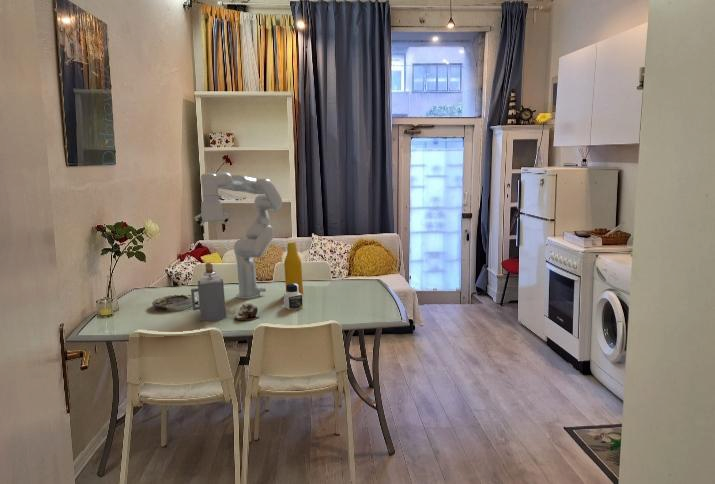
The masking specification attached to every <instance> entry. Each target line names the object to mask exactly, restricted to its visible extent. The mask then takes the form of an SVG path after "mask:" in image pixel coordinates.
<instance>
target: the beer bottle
mask: <svg viewBox="0 0 715 484" xmlns="http://www.w3.org/2000/svg"><path fill="white" fill-rule="evenodd" d="M286 247H287V248H286V249H287V250H286V251H287V252H286V256H285V259H284V262H283V263H284V265H283V266H284V277H285V278H284V279H285V287H286V286H287V285H288V284H292V283H295V284H298V285H299V293H300V294H302V295H303V294H304V287H303V285H304V284H303V267H302V260H301V257H300V255H299V253H298V249H297V242H296V241H288V242H287V246H286ZM285 293H287V290H286V289H285Z"/></svg>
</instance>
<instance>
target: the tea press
mask: <svg viewBox="0 0 715 484" xmlns="http://www.w3.org/2000/svg"><path fill="white" fill-rule="evenodd" d="M196 281H197V282H196V283H197V288H190V291H191V292H190V293H191V294H190V295H192V311H199V312H200V314H199V315H200V321H201V322H208V323H210V322H217V321H220V322H221V320H224V319H226V318H227V312H226V311H227V310H226V299H225V297H226V296H225V288H224V286H225V285H224V279H223V278H221V277H220V275H217V276H211V280H209V276H207V277H205V276H204V277H199V280H196ZM209 283H211V284H209ZM195 292H196V293H197V292H198V293H197V294H198V302H199V305H200V306H199V305H197V306H196V303H195V298H194V296H195Z"/></svg>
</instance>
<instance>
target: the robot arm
mask: <svg viewBox="0 0 715 484" xmlns="http://www.w3.org/2000/svg"><path fill="white" fill-rule="evenodd" d="M200 179H201V180H200V181H201V192H202V201H201V202H200V203H201V205H200V206H201V207H200V211H201V212H200V213H199V214H198V215H195V216H194V220H195V222H196V223H197V224H198V225H199V226H200V232H201V233H202V234H203V235H204V234H205V225H204V224H205V223H207V222H209V223H210V222H219V221H220V222H221V223H222V224H221V229H222V232H223V233H225V231H226V224H227V222H229V219H230V218H231V215H230V214H229V213H227V212H224V211H223V207H222V203H221V200H220V199H222V198H223V197H222V195H219V189H220V190H221V189H222V190H227V191H233V192H240V193H247V194H251V195H256V197H255V198H254V201H253V203H254V208H255V216H254V217H253V219H252V221H251V223H249V226H248V227H247V230H246V231H245V237H246V238H239V239H237V240H236V241H235V243H234V245H233V252H234V255H235V259H236V260H235V261H236V268H237V281H238V291H239V293H237V294H236V298H237V299H238V300H239V299H241V300H249V299H255V298H259V297H260V296H261V293H262V292H263V293H264V292H266V288H265V287H259V288H258V286H257V273H256V272H257V270H256V262H255V260H254V258H255V259H256V258H261V257H262V256H263V255H264V254H265V252H267V249H268V248H269V246H270V244H271V243H272V242H273V239H274V236H275V230H274V227H273V226H271V225H270V222H271V220H270V219H271V218H270V214H269V212H268V211H278V210H280V209H281V208H282V206H283V199H282V197H281V194H280V192H278V190H277V188H276V186H275V185H274V183H273V182H272V181H271V180H270V179H269V178H254V177H252V176H251V177H250V176H245V175H239V174H234V175H233V174H230V173H229V172H226V171H214V172H212V171H211V172H209V173H203V174H201V176H200ZM224 216H226V217H225V219H223V218H224ZM199 218H201V221H200V220H199Z"/></svg>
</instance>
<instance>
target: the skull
mask: <svg viewBox="0 0 715 484" xmlns="http://www.w3.org/2000/svg"><path fill="white" fill-rule="evenodd" d="M258 309H259V308H258V306H257V304H255V303H254V302H252V301H245V302H244V303H242V304H241V306H240V307H239V310H238V311H237V312H236V315H235V316H234V317H233V318H234V319H235V320H240V321H246V322H247V321H254V320H257V319H259V318H260V316H257V314H258V311H259V310H258Z"/></svg>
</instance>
